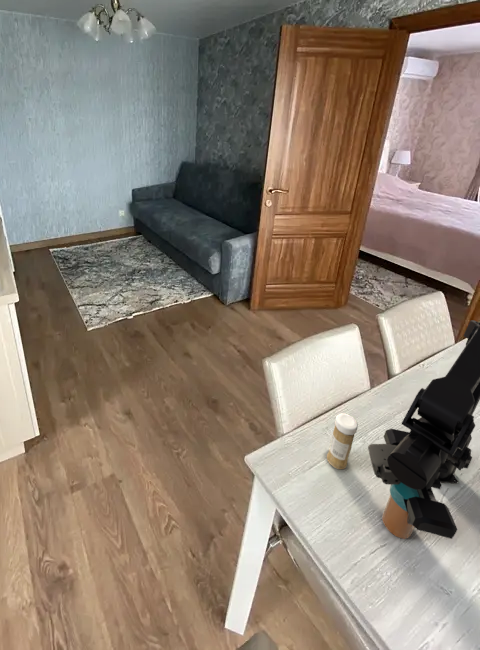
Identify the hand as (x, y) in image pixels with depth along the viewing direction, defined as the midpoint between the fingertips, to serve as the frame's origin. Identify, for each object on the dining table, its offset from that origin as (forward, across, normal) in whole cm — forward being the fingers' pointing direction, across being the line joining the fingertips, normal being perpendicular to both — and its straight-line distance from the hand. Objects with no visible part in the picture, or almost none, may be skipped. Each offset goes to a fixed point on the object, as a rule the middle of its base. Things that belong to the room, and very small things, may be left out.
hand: (404, 504), depth 69 cm
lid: (-2, 0, 0) cm, 2 cm away
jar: (+6, 0, 0) cm, 6 cm away
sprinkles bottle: (+7, -11, -10) cm, 16 cm away
